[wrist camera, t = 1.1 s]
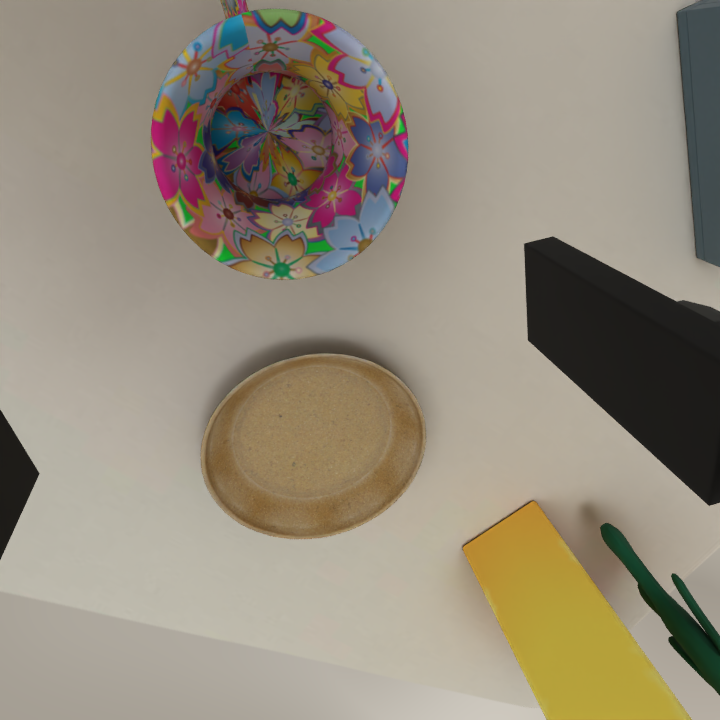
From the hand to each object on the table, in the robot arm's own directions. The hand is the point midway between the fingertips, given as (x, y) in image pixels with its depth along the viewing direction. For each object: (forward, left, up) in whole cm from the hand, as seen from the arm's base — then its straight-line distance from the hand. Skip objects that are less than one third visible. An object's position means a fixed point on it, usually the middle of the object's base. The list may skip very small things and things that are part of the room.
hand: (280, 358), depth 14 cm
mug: (-3, -4, -20) cm, 21 cm away
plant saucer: (+3, +16, -20) cm, 26 cm away
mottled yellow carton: (-11, +40, -20) cm, 46 cm away
